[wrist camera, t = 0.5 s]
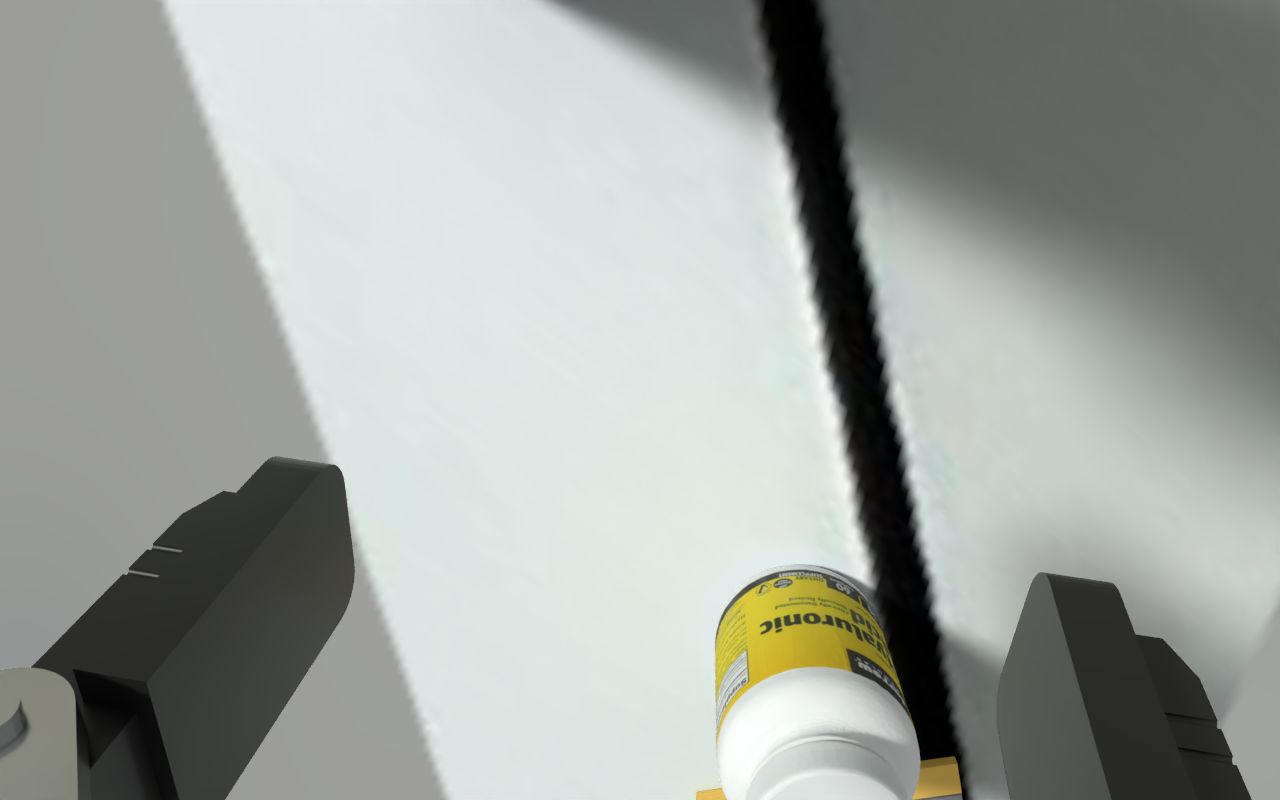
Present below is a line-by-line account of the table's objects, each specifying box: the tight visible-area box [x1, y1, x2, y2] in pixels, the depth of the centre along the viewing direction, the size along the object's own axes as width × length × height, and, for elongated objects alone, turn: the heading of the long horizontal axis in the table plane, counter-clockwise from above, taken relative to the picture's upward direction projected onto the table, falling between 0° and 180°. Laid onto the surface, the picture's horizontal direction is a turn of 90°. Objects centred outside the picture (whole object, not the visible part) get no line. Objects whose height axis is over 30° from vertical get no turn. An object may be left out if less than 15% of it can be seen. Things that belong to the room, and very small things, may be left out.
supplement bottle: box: [715, 565, 920, 800], centre depth 28 cm, size 5×5×10 cm
